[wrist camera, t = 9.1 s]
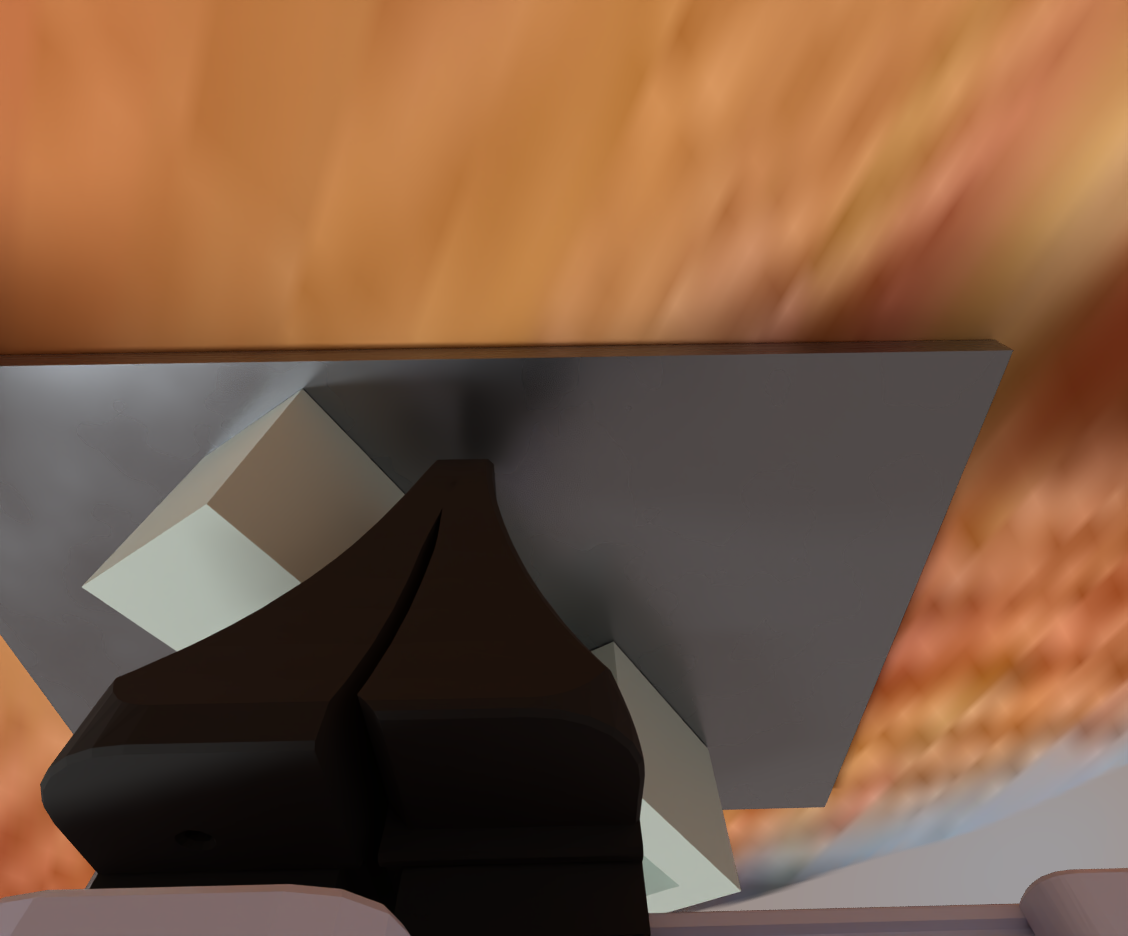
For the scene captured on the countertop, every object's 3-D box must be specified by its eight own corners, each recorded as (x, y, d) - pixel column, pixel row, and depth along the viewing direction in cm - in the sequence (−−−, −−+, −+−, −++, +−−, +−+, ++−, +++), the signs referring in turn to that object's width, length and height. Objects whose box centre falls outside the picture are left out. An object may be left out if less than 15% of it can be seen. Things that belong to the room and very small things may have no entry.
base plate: (818, 790, 22) (824, 807, 21) (149, 807, 21) (139, 824, 21) (995, 339, 13) (1013, 350, 12) (-163, 357, 12) (-194, 369, 12)
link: (708, 749, 19) (741, 891, 16) (551, 806, 21) (550, 945, 17) (357, 350, 12) (278, 456, 8) (158, 488, 13) (26, 623, 10)
